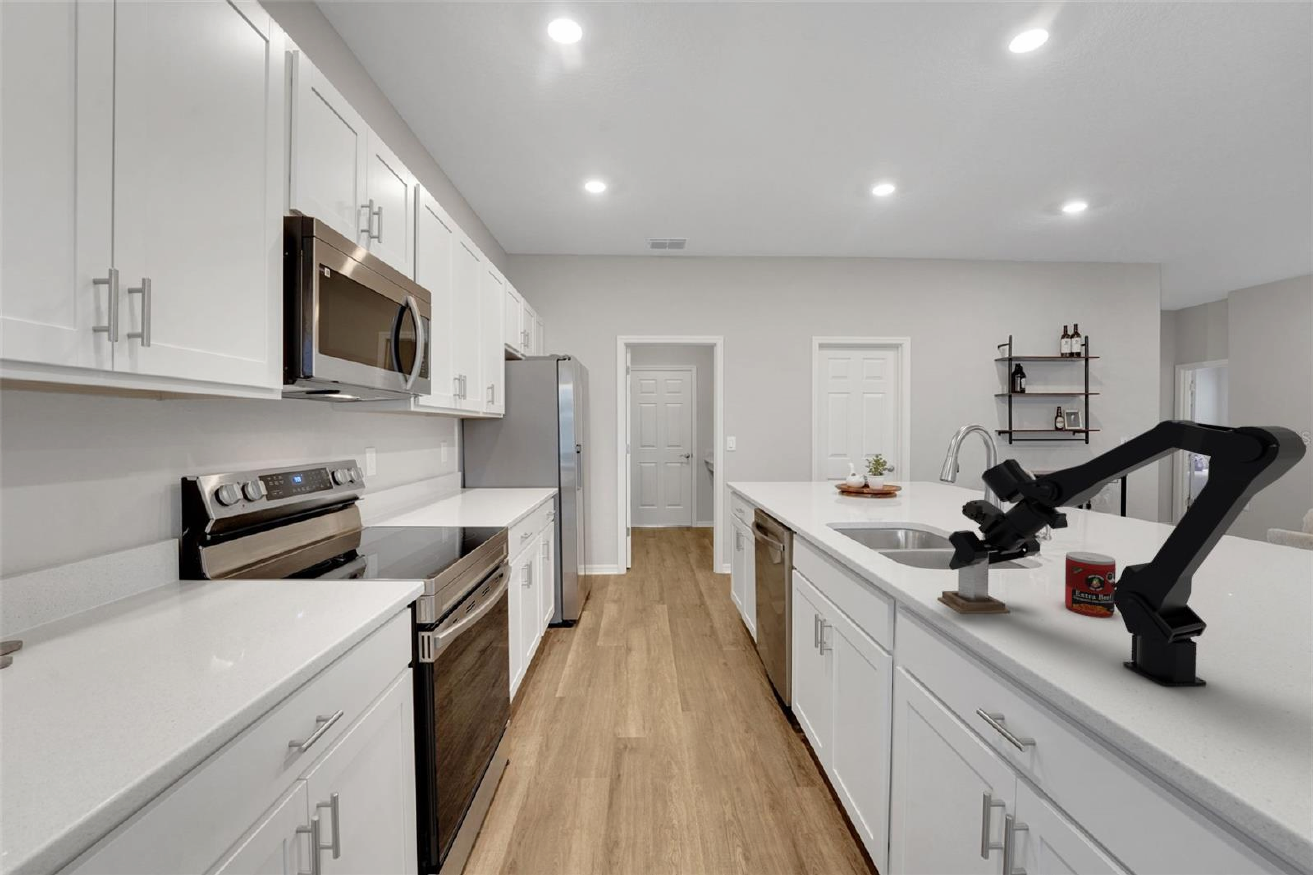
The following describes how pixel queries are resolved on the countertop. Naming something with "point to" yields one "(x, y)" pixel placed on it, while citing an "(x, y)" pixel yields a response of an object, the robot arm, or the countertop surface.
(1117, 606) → the robot arm
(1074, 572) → the canned food
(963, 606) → the brown square tray
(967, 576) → the grey dark-topped prism
